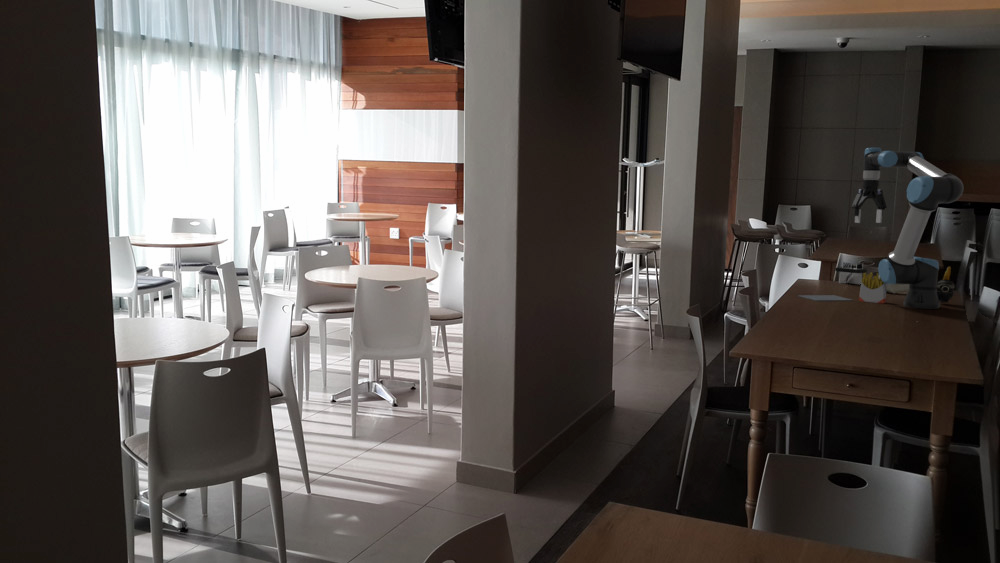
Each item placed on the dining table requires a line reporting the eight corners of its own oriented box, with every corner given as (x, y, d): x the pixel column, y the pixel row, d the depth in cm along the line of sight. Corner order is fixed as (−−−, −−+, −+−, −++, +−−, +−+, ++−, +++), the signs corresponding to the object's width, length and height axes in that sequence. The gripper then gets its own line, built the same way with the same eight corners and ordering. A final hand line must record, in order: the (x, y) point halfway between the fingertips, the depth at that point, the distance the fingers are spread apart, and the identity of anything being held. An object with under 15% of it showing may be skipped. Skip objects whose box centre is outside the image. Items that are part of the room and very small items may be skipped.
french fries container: (882, 312, 392) (885, 274, 390) (858, 309, 399) (860, 272, 397) (884, 311, 396) (887, 273, 394) (860, 308, 403) (863, 271, 401)
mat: (853, 300, 399) (853, 299, 399) (816, 301, 395) (816, 300, 395) (834, 295, 414) (834, 295, 414) (798, 296, 411) (798, 295, 411)
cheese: (865, 282, 431) (890, 266, 423) (868, 280, 437) (894, 264, 429) (883, 307, 428) (910, 291, 419) (887, 305, 434) (913, 289, 425)
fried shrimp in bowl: (948, 301, 404) (952, 264, 402) (959, 304, 393) (962, 266, 391) (929, 300, 405) (932, 263, 402) (938, 304, 394) (942, 266, 392)
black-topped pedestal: (812, 285, 459) (814, 261, 457) (840, 282, 474) (842, 259, 472) (860, 291, 436) (861, 266, 434) (887, 288, 451) (889, 264, 449)
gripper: (884, 180, 419) (881, 222, 421) (845, 179, 410) (842, 222, 412) (896, 180, 412) (893, 223, 414) (857, 179, 403) (854, 223, 405)
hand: (868, 222), depth 413 cm, fingers open, 13 cm apart
